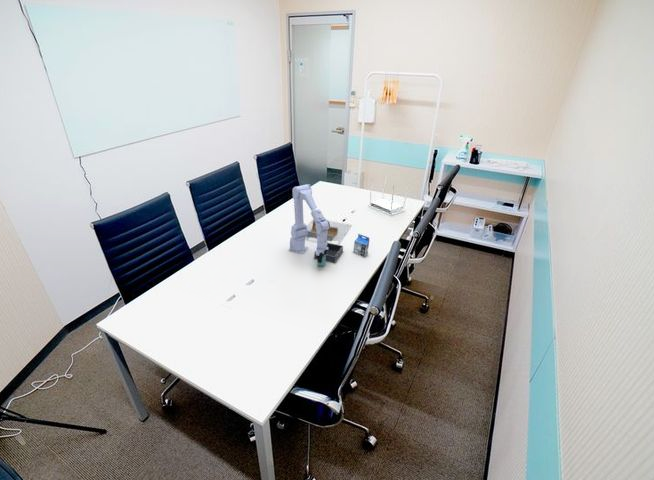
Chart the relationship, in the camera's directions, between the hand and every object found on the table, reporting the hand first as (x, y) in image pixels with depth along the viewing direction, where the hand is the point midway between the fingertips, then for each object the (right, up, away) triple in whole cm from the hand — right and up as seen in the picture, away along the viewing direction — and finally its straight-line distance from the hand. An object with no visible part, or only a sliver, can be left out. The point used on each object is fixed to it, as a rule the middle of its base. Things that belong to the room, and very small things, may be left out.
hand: (321, 260), depth 199 cm
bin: (+6, +4, +13) cm, 15 cm away
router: (+58, +45, +79) cm, 108 cm away
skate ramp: (+5, +22, +42) cm, 47 cm away
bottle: (0, -2, +1) cm, 2 cm away
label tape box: (+26, +4, +15) cm, 30 cm away
